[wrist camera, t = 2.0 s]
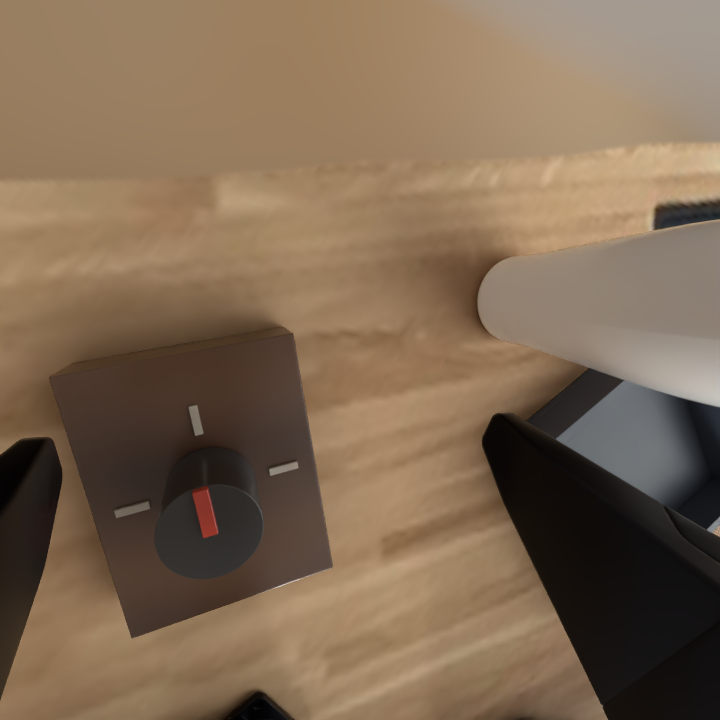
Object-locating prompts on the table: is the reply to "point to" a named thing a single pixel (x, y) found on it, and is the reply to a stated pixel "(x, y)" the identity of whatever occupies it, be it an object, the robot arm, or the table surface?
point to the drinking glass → (619, 307)
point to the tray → (643, 440)
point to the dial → (209, 515)
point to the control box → (180, 438)
